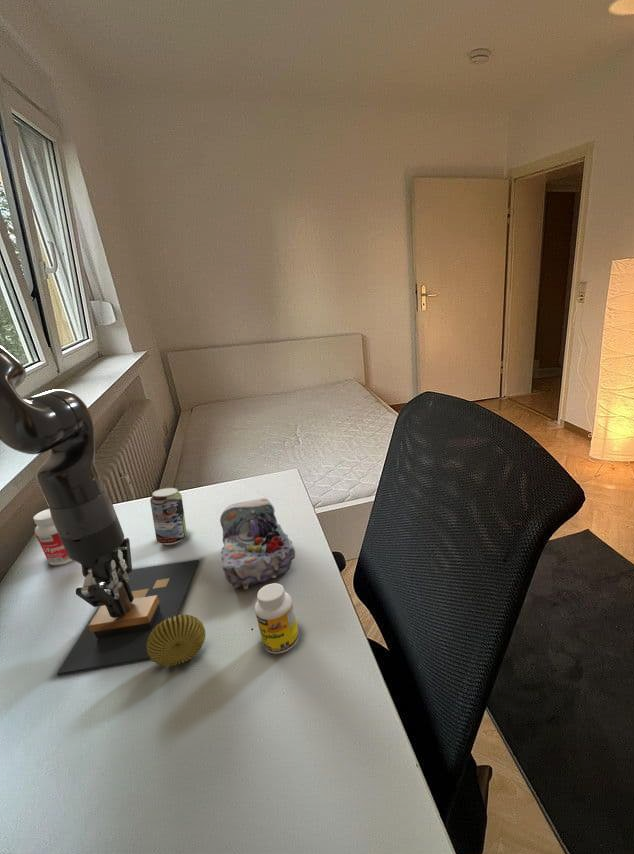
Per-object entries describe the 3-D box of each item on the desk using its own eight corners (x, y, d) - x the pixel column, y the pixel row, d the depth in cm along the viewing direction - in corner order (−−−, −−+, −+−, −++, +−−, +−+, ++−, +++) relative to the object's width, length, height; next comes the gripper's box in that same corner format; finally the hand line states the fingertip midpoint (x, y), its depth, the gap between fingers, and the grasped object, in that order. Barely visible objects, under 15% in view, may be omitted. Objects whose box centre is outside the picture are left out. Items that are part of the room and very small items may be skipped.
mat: (57, 676, 67) (56, 673, 67) (121, 573, 89) (121, 571, 89) (162, 657, 69) (160, 655, 69) (199, 561, 91) (199, 559, 91)
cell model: (268, 486, 96) (295, 532, 80) (276, 527, 101) (303, 578, 85) (204, 504, 91) (220, 557, 75) (215, 546, 95) (233, 606, 79)
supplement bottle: (257, 653, 69) (244, 603, 65) (273, 625, 74) (262, 577, 70) (290, 658, 68) (279, 607, 64) (305, 629, 73) (295, 580, 69)
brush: (94, 639, 73) (77, 601, 69) (107, 616, 77) (92, 580, 74) (152, 629, 74) (138, 592, 70) (162, 608, 78) (149, 572, 75)
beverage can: (152, 547, 96) (135, 500, 92) (175, 528, 103) (161, 483, 98) (176, 550, 95) (160, 502, 90) (198, 530, 101) (185, 485, 97)
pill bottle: (46, 570, 91) (24, 525, 87) (52, 554, 96) (32, 510, 92) (81, 560, 94) (62, 516, 89) (86, 545, 99) (68, 502, 94)
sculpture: (208, 638, 72) (196, 600, 69) (212, 655, 69) (200, 617, 66) (154, 662, 69) (138, 623, 65) (156, 681, 65) (140, 641, 62)
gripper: (83, 502, 73) (116, 584, 80) (33, 553, 60) (78, 646, 67) (131, 496, 74) (160, 577, 81) (92, 545, 61) (130, 637, 68)
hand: (122, 608), depth 74 cm, fingers closed on brush, 2 cm apart
